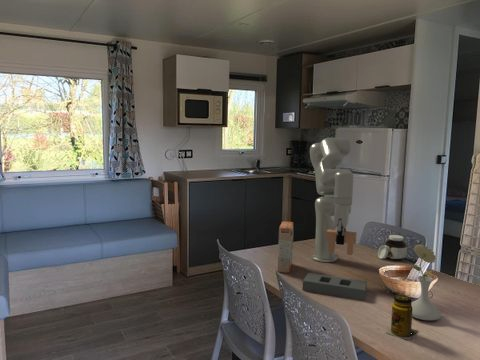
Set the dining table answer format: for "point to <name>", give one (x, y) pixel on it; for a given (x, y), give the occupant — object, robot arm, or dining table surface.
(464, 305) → the dining table surface
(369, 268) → the dining table surface
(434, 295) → the dining table surface
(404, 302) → the condiment
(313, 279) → the gray socket block
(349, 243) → the clip
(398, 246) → the spread jar
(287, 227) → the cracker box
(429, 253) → the flower in vase
